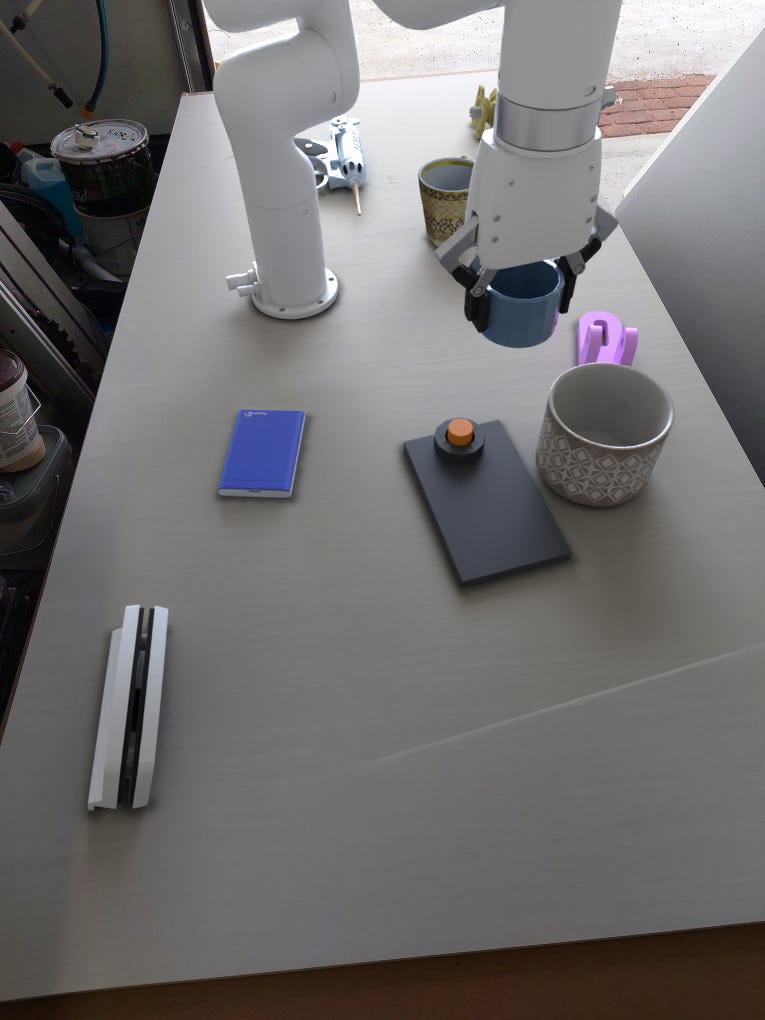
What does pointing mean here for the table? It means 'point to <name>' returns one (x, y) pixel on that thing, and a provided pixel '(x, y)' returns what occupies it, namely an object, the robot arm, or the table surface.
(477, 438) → the scale
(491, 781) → the table surface
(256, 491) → the hard drive
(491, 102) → the ball valve
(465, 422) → the button
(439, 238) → the ceramic cup
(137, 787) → the white slotted block
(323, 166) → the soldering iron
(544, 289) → the blue cup
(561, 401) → the planter
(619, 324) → the bracket
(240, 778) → the table surface
